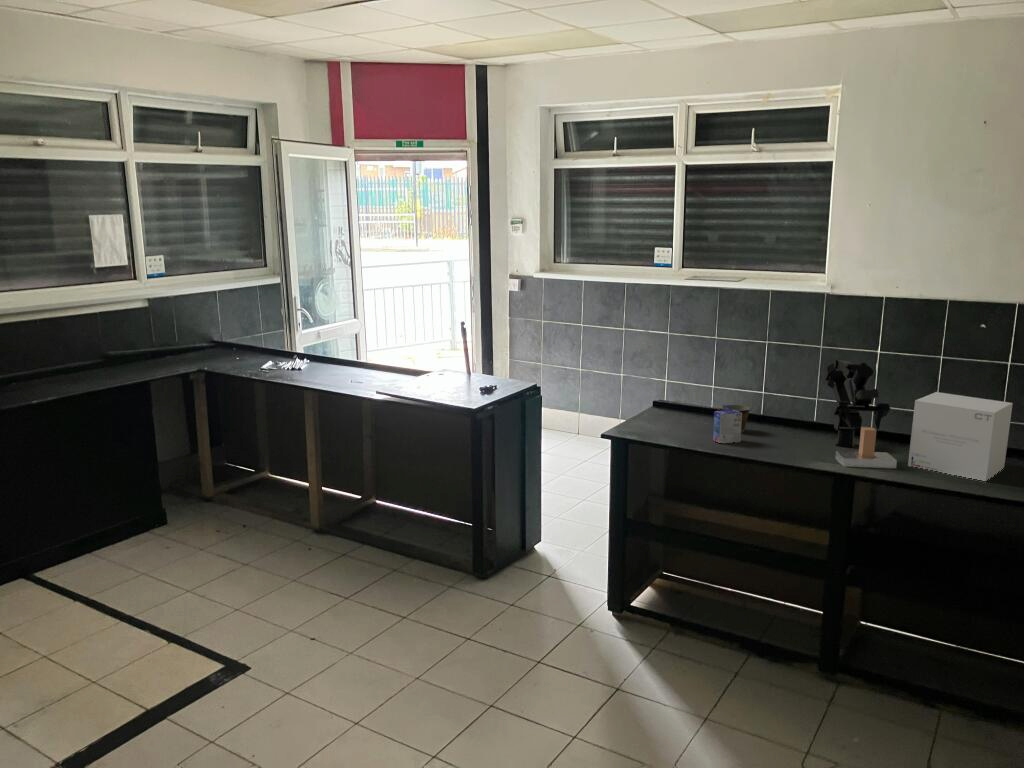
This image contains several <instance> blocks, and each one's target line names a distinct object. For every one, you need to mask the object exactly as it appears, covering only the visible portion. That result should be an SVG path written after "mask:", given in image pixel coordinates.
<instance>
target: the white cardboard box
mask: <svg viewBox="0 0 1024 768" xmlns="http://www.w3.org/2000/svg"><path fill="white" fill-rule="evenodd" d="M1013 404H1014V403H1013V402H1008V401H1001V400H996V399H995V400H994V399H988V398H987V399H986V398H981V397H975V396H973V397H972V396H966V395H960V394H955V393H954V394H953V393H946V392H938V391H935V392H933V393H930V394H928V395H925V396H924V397H920V398H918V399H915V400H914V406H913V417H912V426H911V434H910V444H909V451H908V460H907V461H908V463H907V466H908V467H911V466H913V467H912V468H915V467H918V468H917V469H920V468H923V469H922V470H925V469H928V470H927V471H930V470H933V471H932V472H934V471H938V472H937V473H939V472H942V473H941V474H944V473H947V474H946V475H949V474H951V475H950V476H954V475H957V476H956V477H958V476H962V477H961V478H963V477H966V478H965V479H968V478H972V479H971V480H973V479H977V480H982V481H987V480H988V479H989V480H991V479H992V478H993V477H995V476H996V475H997V473H998V472H999V471H1000V472H1002V471H1003V470H1004V469H1005V465H1006V464H1005V463H1006V456H1007V449H1008V441H1009V434H1010V426H1011V418H1012V411H1013ZM1003 468H1004V469H1003ZM1002 469H1003V470H1002ZM1001 470H1002V471H1001ZM1000 472H999V473H1000ZM999 473H998V474H999ZM995 474H996V475H995ZM994 475H995V476H994ZM991 477H992V478H991ZM990 478H991V479H990ZM977 480H976V481H977ZM989 480H988V481H989ZM982 481H981V482H982ZM988 481H987V482H988Z"/></svg>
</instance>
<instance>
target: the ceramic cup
mask: <svg viewBox="0 0 1024 768" xmlns="http://www.w3.org/2000/svg"><path fill="white" fill-rule="evenodd" d="M730 405H731V408H732V410H737V411H740V412H742V423H741V433H744V432H745V428H746V424H747V420H748V417H749V414H750V413H749V412H750V407H748V406H746V405H741V404H730ZM725 409H730V407H725ZM716 411H723V407H722V408H721V407H720V408H718V409H716Z"/></svg>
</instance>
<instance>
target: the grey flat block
mask: <svg viewBox="0 0 1024 768" xmlns="http://www.w3.org/2000/svg"><path fill="white" fill-rule="evenodd" d="M858 455H859V450H858V451H852V450H836V451H835V460H837V462H838V463H839V464H840V465H841V466H842V467H845V468H847V467H849V468H868V469H869V468H871V469H874V468H875V469H894V468H895V470H896V469H897V463H898V460H897V459H896V458H895V457H893V456H892V455H891V454H889V453H888V452H884V451H883V452H882V451H881V452H880V451H874V458H860V457H859V456H858Z"/></svg>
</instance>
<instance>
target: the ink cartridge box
mask: <svg viewBox="0 0 1024 768" xmlns="http://www.w3.org/2000/svg"><path fill="white" fill-rule="evenodd" d="M731 405H732V404H725V405H722V409H723V410H718V411H717V410H716V411H713V434H712V435H713V438H712V441H713V440H714V441H713V442H715V441H716V442H718V443H722V444H732V443H733V442H735V443H741V440H742V439H741V437H742V432H741V423H742V412H740V411H737V410H732V408H731ZM725 407H730V409H725ZM716 442H715V443H716ZM718 443H717V444H718Z"/></svg>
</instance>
